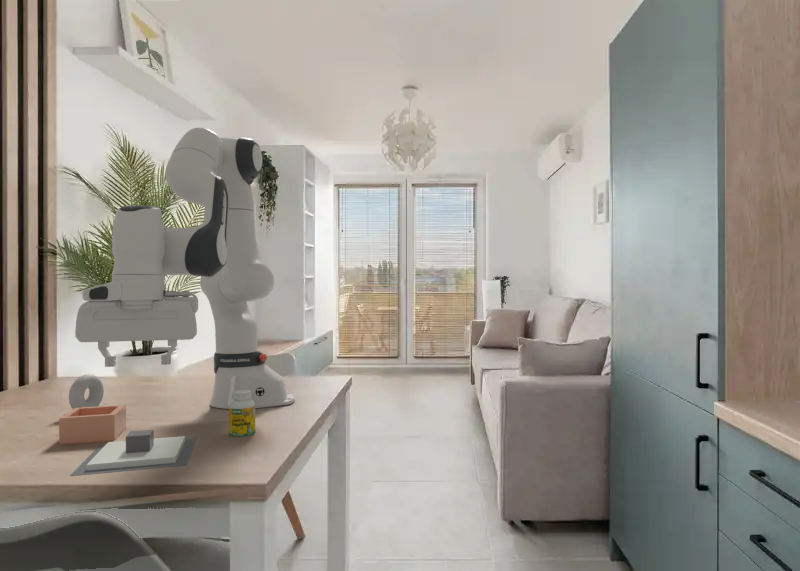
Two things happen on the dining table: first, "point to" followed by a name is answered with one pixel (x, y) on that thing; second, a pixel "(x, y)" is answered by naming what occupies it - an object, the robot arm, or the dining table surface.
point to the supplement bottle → (241, 414)
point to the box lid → (138, 451)
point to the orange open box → (92, 424)
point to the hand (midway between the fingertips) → (138, 365)
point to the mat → (180, 461)
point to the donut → (79, 389)
